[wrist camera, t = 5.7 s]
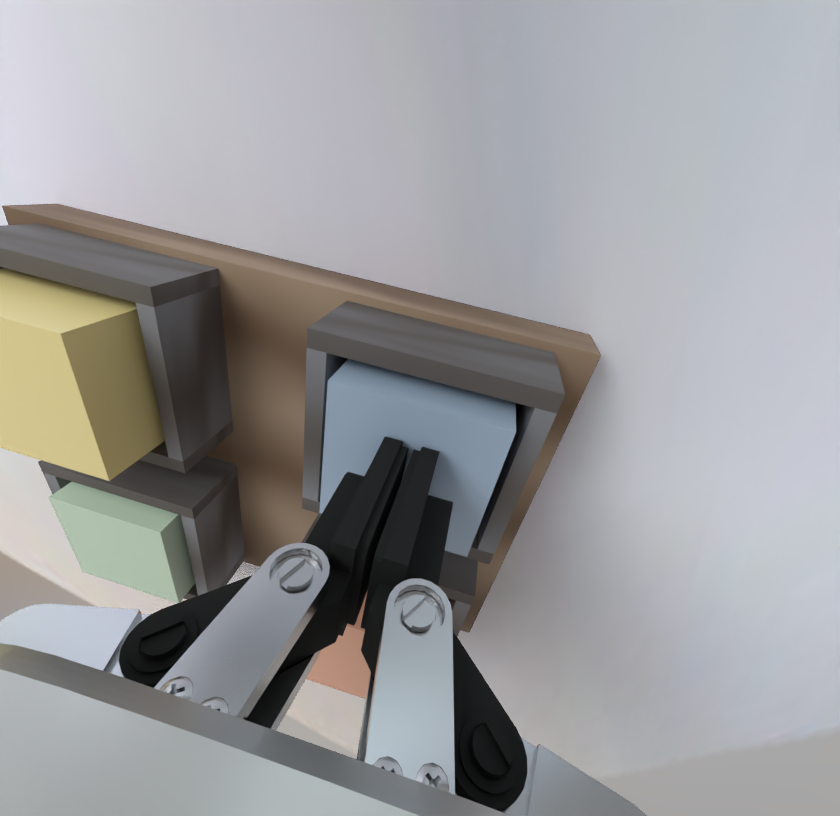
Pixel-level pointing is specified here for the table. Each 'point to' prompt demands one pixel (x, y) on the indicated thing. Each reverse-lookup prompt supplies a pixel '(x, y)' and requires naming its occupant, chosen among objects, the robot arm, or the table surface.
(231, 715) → the robot arm
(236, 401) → the console
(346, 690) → the terracotta button
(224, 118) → the table surface
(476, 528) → the slate button
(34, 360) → the mustard button
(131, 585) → the sage button
